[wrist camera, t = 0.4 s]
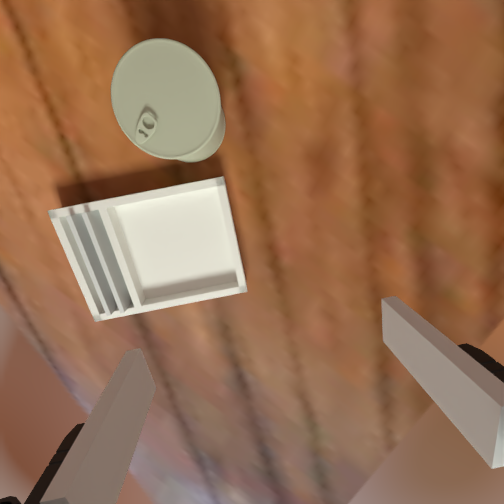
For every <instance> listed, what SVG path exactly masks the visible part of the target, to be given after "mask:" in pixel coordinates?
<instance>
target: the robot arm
mask: <svg viewBox="0 0 504 504" xmlns="http://www.w3.org/2000/svg"><path fill="white" fill-rule="evenodd" d="M382 325H383V342H384V343H385V344H386V345H387V346H388V347H389V349H390V350H391V351H392V352H393V353H394V355H395V356H396V357H397V358H398V359H399V360H400V362H401V363H402V364H403V365H404V366H405V367H406V369H407V370H408V371H409V372H410V373H411V374H412V376H413V377H414V378H415V379H416V380H417V382H418V383H419V384H420V385H421V386H422V387H423V389H424V390H425V391H426V392H427V393H428V394H429V396H430V397H431V398H432V399H433V400H434V402H435V403H436V404H437V405H438V406H439V407H440V409H441V410H442V411H443V412H444V413H445V414H446V416H447V417H448V418H449V419H450V420H451V421H452V423H453V424H454V425H455V426H456V427H457V429H458V430H459V431H460V432H461V433H462V434H463V436H464V437H465V438H466V439H467V440H468V441H469V443H470V444H471V445H472V446H473V447H474V449H476V451H477V452H478V453H479V454H480V456H481V457H482V458H483V459H484V460H485V461H486V463H487V464H488V465H489V466H490V467H491V468H492V469H493V468H498V467H503V466H504V366H502V365H501V364H500V363H498V362H496V361H495V360H494V359H493V358H492V357H490V356H489V355H488V354H486V353H485V352H484V351H482V350H480V349H478V348H476V347H473V346H471V345H469V344H467V343H466V344H461V345H456V344H455V343H453V342H452V341H451V340H450V339H448V338H447V337H446V336H445V335H443V334H442V333H441V332H440V331H439V330H437V329H436V328H435V327H434V326H432V325H431V324H430V323H429V322H427V321H426V320H425V319H424V318H422V317H421V316H420V315H419V314H417V313H416V312H415V311H414V310H412V309H411V308H410V307H409V306H408V305H406V304H405V303H404V302H403V301H401V300H400V299H399V298H398V297H396V296H393V297H388V298H383V299H382ZM155 390H156V386H155V383H154V381H153V378H152V376H151V373H150V371H149V368H148V366H147V363H146V361H145V358H144V356H143V353H142V351H141V348H139V349H134V350H129V351H126V353H125V354H124V356H123V358H122V360H121V361H120V363H119V365H118V367H117V368H116V370H115V372H114V374H113V375H112V377H111V379H110V381H109V382H108V384H107V386H106V388H105V389H104V391H103V393H102V394H101V396H100V398H99V400H98V401H97V403H96V405H95V407H94V408H93V410H92V412H91V414H90V415H89V417H88V419H87V421H86V423H82V424H77V425H76V426H75V427H74V428H73V429H72V431H71V432H70V433H69V434H68V435H67V436H66V437H65V438H64V440H63V441H62V443H61V445H60V446H59V448H58V450H57V451H56V454H55V455H54V456H53V458H52V459H51V461H50V463H49V466H47V467H46V469H45V471H44V473H43V474H42V476H41V477H40V479H39V481H38V482H37V484H36V485H35V487H34V489H33V490H32V492H31V493H30V495H29V496H28V498H27V500H26V501H25V503H24V504H116V503H117V500H118V497H119V494H120V491H121V488H122V485H123V483H124V480H125V477H126V474H127V471H128V468H129V465H130V462H131V459H132V457H133V454H134V451H135V448H136V445H137V442H138V439H139V436H140V433H141V431H142V428H143V425H144V422H145V419H146V416H147V413H148V410H149V407H150V404H151V402H152V399H153V396H154V393H155ZM0 504H21V503H20V501H19V500H18V499H17V498H16V497H12V496H9V497H6V498H2V499H0Z"/></svg>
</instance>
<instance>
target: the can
mask: <svg viewBox="0 0 504 504" xmlns="http://www.w3.org/2000/svg"><path fill="white" fill-rule="evenodd" d="M111 101H112V107H113V110H114V113H115V116H116V119H117V121H118V123H119V125H120V127H121V129H122V130H123V132H124V133H125V134H126V136H127V137H128V138H129V139H130V140H131V141H132V142H133V143H134V144H135V145H136V146H137V147H139V148H140V149H141V150H143V151H145V152H146V153H148V154H150V155H153V156H156V157H159V158H164V159H177V160H180V161H183V162H198V161H202V160H204V159H207V158H208V157H210V156H211V155H212V154H214V153H215V152H216V150H217V149H218V148H219V146H220V145H221V143H222V140H223V138H224V134H225V116H224V112H223V109H222V107H221V99H220V92H219V88H218V85H217V82H216V79H215V77H214V75H213V73H212V71H211V69H210V68H209V66H208V65H207V63H206V62H205V61H204V60H203V58H202V57H201V56H200V55H199V54H198V53H196V52H195V51H194V50H193V49H191V48H190V47H188V46H187V45H185V44H183V43H180V42H178V41H175V40H171V39H165V38H155V39H148V40H145V41H142V42H140V43H138V44H136V45H134V46H133V47H132V48H130V49H129V50H128V51H127V52H126V53H125V54H124V55H123V56H122V58H121V59H120V61H119V62H118V64H117V66H116V68H115V71H114V74H113V78H112V84H111Z"/></svg>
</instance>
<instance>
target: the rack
mask: <svg viewBox="0 0 504 504" xmlns="http://www.w3.org/2000/svg"><path fill="white" fill-rule="evenodd" d="M48 214H49V216H50V218H51V221H52V223H53V225H54V228H55V230H56V232H57V235H58V237H59V239H60V242H61V244H62V246H63V248H64V251H65V253H66V255H67V258H68V260H69V262H70V265H71V267H72V269H73V272H74V274H75V276H76V279H77V281H78V283H79V286H80V288H81V290H82V293H83V295H84V297H85V299H86V302H87V304H88V306H89V309H90V311H91V313H92V316H93V318H94V320H95V322H96V321H101V320H106V319H111V318H116V317H121V316H126V315H131V314H137V313H142V312H147V311H152V310H157V309H162V308H167V307H172V306H177V305H182V304H187V303H192V302H197V301H202V300H207V299H212V298H217V297H222V296H228V295H233V294H238V293H243V292H247V284H246V279H245V274H244V269H243V264H242V260H241V255H240V250H239V245H238V241H237V236H236V231H235V226H234V222H233V217H232V212H231V207H230V202H229V198H228V193H227V188H226V183H225V179H224V176H221V177H216V178H211V179H206V180H201V181H196V182H191V183H185V184H180V185H175V186H170V187H165V188H160V189H155V190H149V191H144V192H139V193H134V194H129V195H124V196H119V197H114V198H108V199H103V200H98V201H93V202H88V203H83V204H78V205H72V206H67V207H62V208H58V209H54V210H49V211H48Z"/></svg>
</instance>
